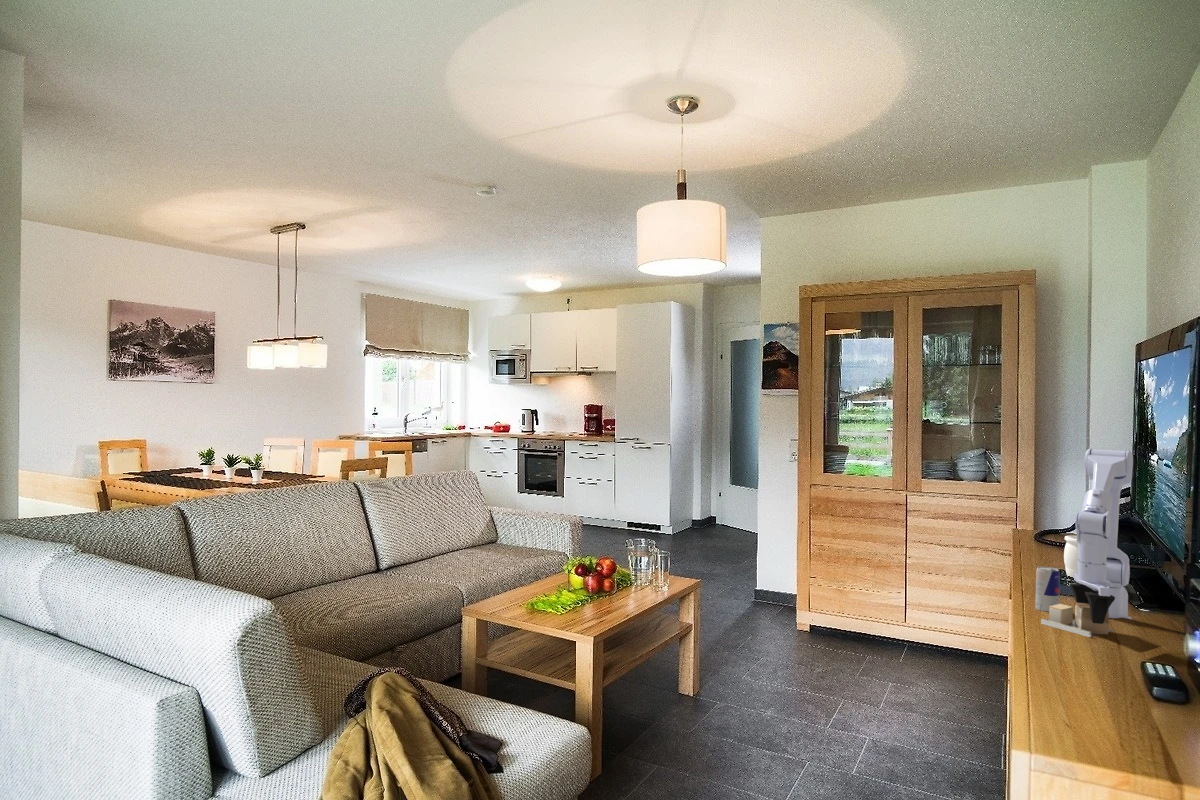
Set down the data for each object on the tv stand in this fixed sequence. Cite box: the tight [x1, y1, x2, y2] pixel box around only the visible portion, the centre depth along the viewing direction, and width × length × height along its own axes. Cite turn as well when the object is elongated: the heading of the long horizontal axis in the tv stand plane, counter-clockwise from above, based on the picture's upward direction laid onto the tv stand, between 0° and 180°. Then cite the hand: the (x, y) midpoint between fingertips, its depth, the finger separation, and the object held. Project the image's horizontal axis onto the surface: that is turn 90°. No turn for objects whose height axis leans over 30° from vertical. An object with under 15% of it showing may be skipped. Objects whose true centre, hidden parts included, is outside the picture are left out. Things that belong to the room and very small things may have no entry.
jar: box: [1063, 535, 1078, 578], centre depth 219 cm, size 11×10×15 cm
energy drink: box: [1034, 566, 1061, 613], centre depth 190 cm, size 5×5×12 cm
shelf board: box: [1040, 618, 1114, 638], centre depth 175 cm, size 11×11×2 cm
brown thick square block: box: [1074, 602, 1110, 635], centre depth 173 cm, size 4×6×6 cm
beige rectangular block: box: [1048, 603, 1074, 625], centre depth 179 cm, size 5×3×4 cm, turn 119°
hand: (1090, 618), depth 173 cm, fingers open, 7 cm apart
